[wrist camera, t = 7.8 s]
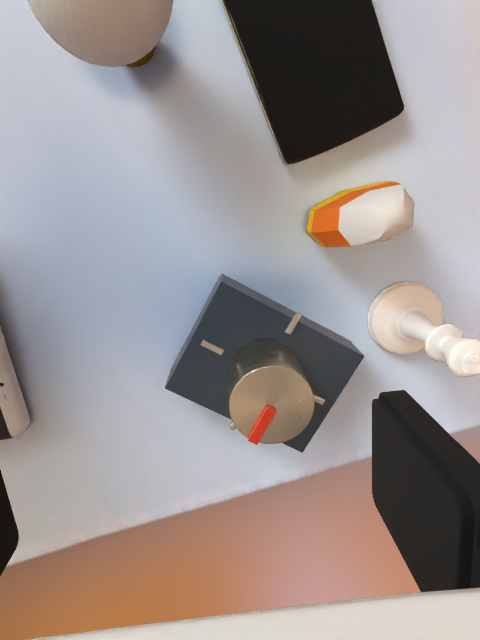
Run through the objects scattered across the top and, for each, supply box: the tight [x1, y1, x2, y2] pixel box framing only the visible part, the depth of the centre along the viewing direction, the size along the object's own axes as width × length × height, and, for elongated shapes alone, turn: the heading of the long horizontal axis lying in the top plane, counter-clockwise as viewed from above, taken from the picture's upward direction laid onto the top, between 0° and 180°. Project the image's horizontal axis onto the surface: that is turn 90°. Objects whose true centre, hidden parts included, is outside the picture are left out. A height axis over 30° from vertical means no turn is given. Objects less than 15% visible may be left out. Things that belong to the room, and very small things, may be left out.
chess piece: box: [367, 282, 480, 377], centre depth 23 cm, size 5×5×10 cm
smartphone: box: [221, 0, 404, 164], centre depth 23 cm, size 7×1×15 cm
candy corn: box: [306, 181, 414, 247], centre depth 23 cm, size 6×3×8 cm, turn 110°
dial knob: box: [229, 339, 314, 444], centre depth 23 cm, size 4×4×5 cm
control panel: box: [165, 274, 364, 452], centre depth 27 cm, size 10×9×3 cm
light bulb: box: [27, 0, 173, 67], centre depth 19 cm, size 6×6×10 cm
